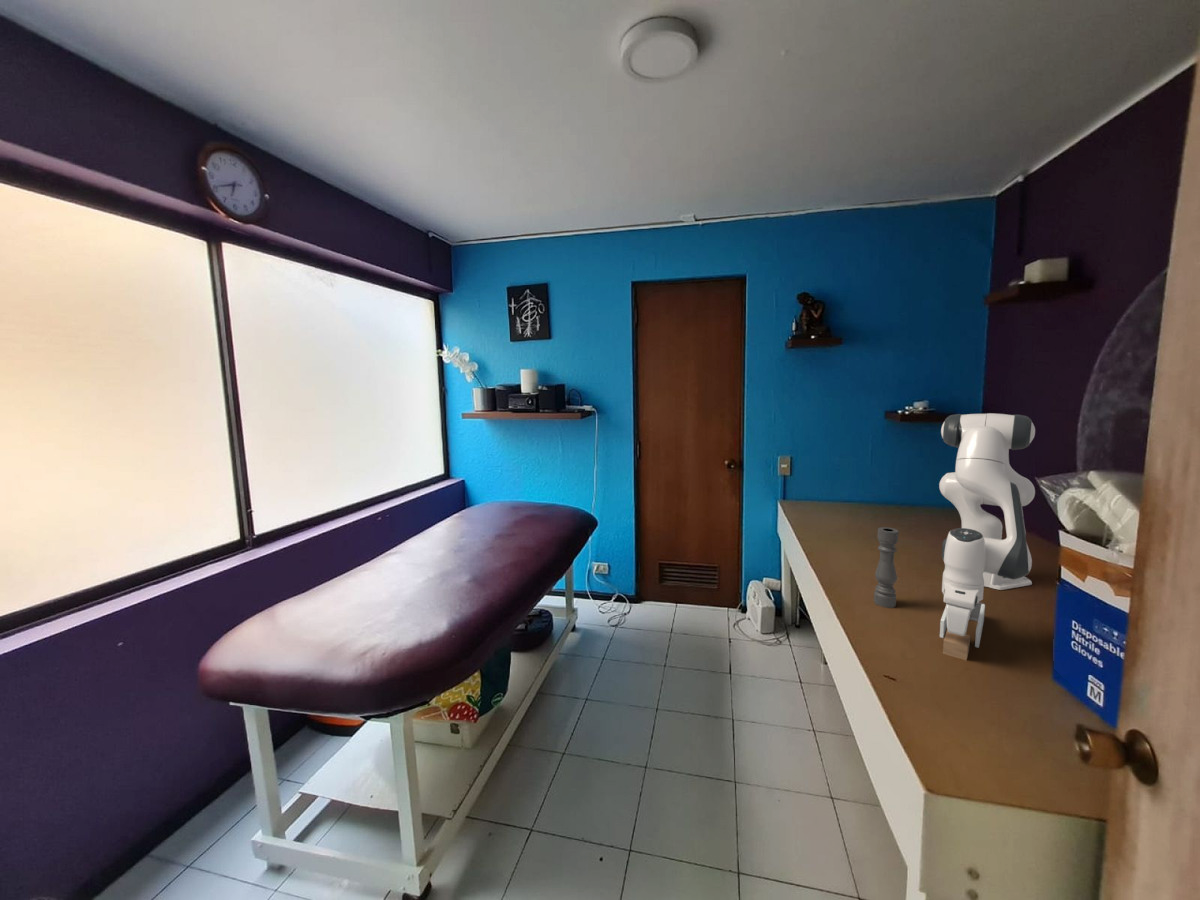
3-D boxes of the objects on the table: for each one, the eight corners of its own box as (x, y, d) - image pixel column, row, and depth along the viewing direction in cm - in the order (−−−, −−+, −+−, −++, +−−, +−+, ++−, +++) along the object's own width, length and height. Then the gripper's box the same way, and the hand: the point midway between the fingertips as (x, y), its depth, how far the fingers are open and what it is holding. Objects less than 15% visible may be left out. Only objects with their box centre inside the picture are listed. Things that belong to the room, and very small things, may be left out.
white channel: (948, 610, 144) (949, 595, 144) (983, 619, 139) (985, 603, 138) (939, 637, 130) (940, 620, 129) (978, 647, 124) (980, 630, 123)
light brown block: (946, 643, 127) (947, 629, 127) (969, 649, 124) (970, 635, 123) (942, 654, 122) (943, 640, 122) (966, 661, 119) (967, 646, 118)
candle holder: (888, 609, 147) (892, 534, 143) (869, 601, 152) (872, 529, 149) (899, 604, 149) (903, 530, 146) (880, 597, 155) (884, 525, 152)
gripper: (952, 574, 134) (949, 618, 136) (942, 598, 119) (939, 648, 121) (980, 579, 130) (976, 625, 132) (973, 605, 115) (970, 656, 117)
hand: (958, 636), depth 126 cm, fingers closed
